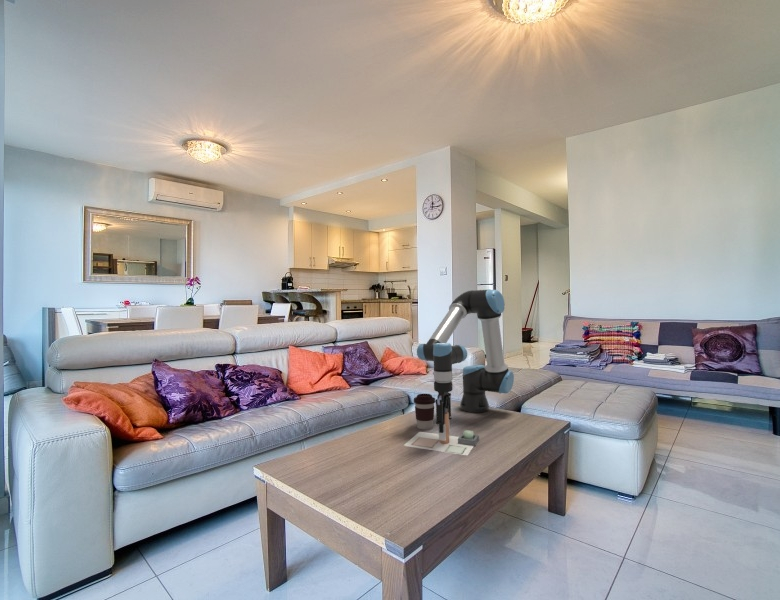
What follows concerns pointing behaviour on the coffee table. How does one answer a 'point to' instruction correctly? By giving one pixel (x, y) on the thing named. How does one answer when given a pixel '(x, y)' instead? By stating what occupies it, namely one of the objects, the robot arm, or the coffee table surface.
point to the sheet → (438, 444)
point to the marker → (446, 427)
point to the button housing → (468, 440)
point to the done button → (468, 434)
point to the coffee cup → (424, 410)
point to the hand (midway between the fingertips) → (444, 437)
